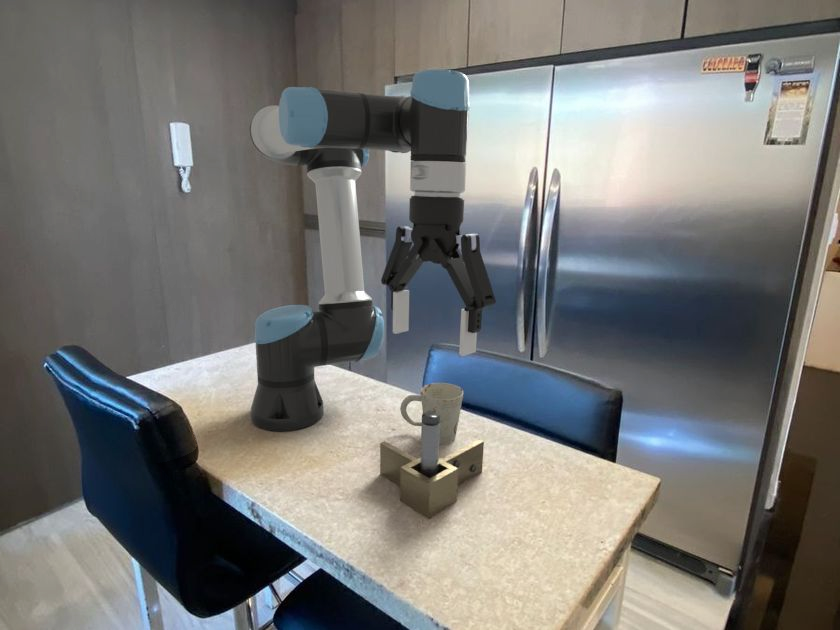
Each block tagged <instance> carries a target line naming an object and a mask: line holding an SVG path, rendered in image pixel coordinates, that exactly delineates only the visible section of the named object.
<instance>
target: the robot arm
mask: <svg viewBox="0 0 840 630" xmlns="http://www.w3.org/2000/svg"><path fill="white" fill-rule="evenodd" d="M469 83H470V82H469V79H468V77H467V75H466V74H464V73H463V72H460V71H457V70H450V69H442V68H441V69H440V68H439V69H436V68H435V69H424V70H420V71H417V72H416V73H415V74H414V75H413V78H412V83H411V84H412V85H411V89H410V91H409V92H410V96H406V97H405V96H402V97H401V96H392V95H384V94H383V95H382V94H371V93H360V92H349V91H348V92H347V91H340V90H330V89H323V88H322V89H321V88H316V87H313V86H303V87H299V86H288V87H286V88H285V89H284V90H283V91H282V92H281V97H280V98H279V103H278V105H268V106H265V107H263V108H261V109H259V110H258V111H257V112H255V113H254V114H253V116H252V117H251V119H250V122H249V125H248V134H249V139H250V142H251V144H252V146H253V148H254V149H255V150H256V152H257V153H259V154H260V155H261V156H263V157H264V158H266V159H269V160H270V161H273V162H275V163H279V164H283V165H288V166H302V167H306V174H307V177H308V178H309V179H310V180H311V181H312V182H313V183H314V185H315V194H316V195H315V196H316V207H317V216H318V217H317V219H318V231H319V239H320V240H319V242H320V252H321V253H320V254H321V263H322V264H321V265H322V276H323V277H322V278H323V288H324V294H323V296H322V298H321V299H320V300H319V302H318V311H314V310H313V309H312V307H311V306H309V305H306V304H289V305H284V306H283V305H282V306H278V307H274V308H272V309H268V310H267V311H265V312H262V313H261V314H260V315H259V316H258V317H257V318H256V320H255V323H254V338H253V340H254V343H255V354H256V355H255V356H256V372H257V373H256V374H257V386H256V389H255V393H254V396H253V400H252V402H251V403H252V404H251V407H250V419H251V422H252V423H253V425H255V427H258V428H260V429H263V430H268V431H271V432H272V431H275V432H287V431H295V430H301V429H305V428H308V427H310V426H313V425H314V424H316V423H318V422H319V421H320V420H321V419H322V418H323V416H324V413H325V412H324V407H325V406H324V401H323V398H322V396H321V393H320V391H319V387H318V385H317V383H316V379H315V368H316V367H324V366H332V365H336V364H345V363H352V362H354V363H359V362H361V361H365V360H370V359H373V358H374V357H376V356H377V355H378V354H379V352H380V350H381V348H382V346H383V342H384V337H385V321H384V317H383V313H382V311H381V308H379V307H378V306H375V305H373V299H372V297H371V296H370V295H368V294H367V293H366V291H365V282H364V270H363V260H362V259H363V258H362V248H361V246H362V245H361V234H360V223H359V222H360V221H359V212H358V211H359V209H358V198H357V186H356V182H357V180H358V179H359V178H360V176H361V175H362V169H363V168H364V167H365V166H366V165H367V164H368V162H369V158H370V154H369V152H370V151H388V152H391V153H396V154H397V153H401V154H407V153H409V152H410V177H409V180H410V182H409V183H410V185H409V189H410V191H411V192H414V193H413V194H414V195H411V196H410V197H409V208H408V209H409V211H408V212H409V215H408V216H409V217H408V220H409V221H410V223H412V224H413V225H406V226H405V225H404V226H403V225H402V226H397V227H396V230H395V240H394V242H393V246H392V248H391V251H390V254H389V257H388V260H387V262H386V266H385V268H384V271H383V274H382V277H381V279H380V280H381V281H380V282H381V284H382V285H384V286H385V285H386V286H388V289H389V290H390V308H391V310H392V334H395V335H397V334H401V333H405V332H406V333H407V332H409V331H410V329H409V327H410V321H409V320H410V290H409V289H408V288H409V286H408V284H409V283H410V282H411V280H412V279H413V278H414V276H415V275H416V273H417V272H418V270H419V269H420V267H421V266H422V265H423V263H424V262H426V263H427V262H431V263H432V264H437V265H441V266H442V268H444V269H446V271H447V273H448V275H449V277H450V278H451V280H452V283H453V285H454V286H455V288H456V290H457V292H458V294H459V296H460V298H461V299H462V301H463V302H464V303H463V304H464V305H465V307H464V308H461V309H460V310H461V312H460V329H459V330H460V331H459V348H458V349H459V351H458V352H459V353H458V354H459V356H461V357H466V356H468V355H471V354H475V353H476V352H477V341H478V340H477V338H478V333H480V332H481V330H482V318H483V309H484V308H487V307H492V306H494V305H496V304H497V303H496V302H497V300H496V297H495V294H494V290H493V288H492V284H491V281H490V278H489V275H488V272H487V269H486V266H485V262H484V259H483V256H482V254H481V247H480V246H481V245H480V241H481V239H480V235H479V234H478V233H468V234H462V233H461V230H460V229H461V228H460V227H461V225H462V224H463V223H464V215H465V213H464V210H465V199H464V198H463V197H462V196H461V193H464V192H466V175H467V174H466V171H467V169H466V167H467V158H466V157H467V149H468V133H469V132H468V131H469V118H470V117H469V113H470V108H471V104H470V102H469V101H470V99H469V97H470V93H469V92H470V86H469V85H470V84H469ZM460 250H461V252H460Z"/></svg>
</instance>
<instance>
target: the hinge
mask: <svg viewBox="0 0 840 630" xmlns="http://www.w3.org/2000/svg"><path fill="white" fill-rule="evenodd" d="M484 443H485V442H484V440H482V439H476V440H474V442H472V443H469V444H467V445H466V446H464V447H462V448H460V449H457V450H456V451H454V452H452V453H451V454H448V455H446V456H445V457H443V458H439V461H438V474H437V475H435V476H433V477H431V478H428V477H426V476H425V475H423V474H421V473H420V465H421V456H420V457H418V458H416V457H414V456H412V455H411V454H409V453H408V452H405V451H404V450H402V449H400V448H398V447H397V446H395V445H393V444H391V443H389V442H387V441H385V440H384V441H381V442H380V443H379V458H380V459H379V475H381V476H382V477H384V478H386V479H387V480H389V482H390V481H391V483H393V484H394V485H395V484H396V485H397V486H399V487H400V488H399V501H400V502H401V503H403V504H404V505H406V506H408V507H409V508H411V509H412V510H413V511H416V512H417V513H418V514H420V515H422V516H423V517H425V518H426V519H427V520H430V519H431V518H433V517H434V516H437V515H438V514H439V513H441V512H442V511H444V510H446V509H448V508H449V507H451V506H452V505H454V504H455V503H457V497H458V496H457V495H458V487H459V486H460V485H462V484H464V483H466V482H467V481H469V480H471V479H472V478H474V477H476V476H477V475H480V473H483V463H484V461H483V460H484V458H483V457H484V448H485V447H484V446H485V445H484Z"/></svg>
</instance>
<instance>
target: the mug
mask: <svg viewBox="0 0 840 630" xmlns="http://www.w3.org/2000/svg"><path fill="white" fill-rule="evenodd" d="M463 398H464V390H463V389H462V388H461V387H460V386H458V385H456V384H453V383H447V382H432V383H429V384H425V385H424V386H422V387H421V389H420V394H409V395H408V396H406V397H405V398H404V399H403V400H402V402H401V404H400V409H399V410H400V413H401V417H402V418H403V419H404V421H406V423H408V424H410V425H412V426H414V427H422V421H415V420H413V419H412V418H411V417H410V415H409V414H408V411H407V408H408V406H409V404H410V403H411V402H421V409H422V410H421V411H422V414H423V413H425V412H436V413H438V414H439V415H440V434H439V445H445V444H446V445H448V444H450V443H453V442H454V441H455V439H456V437H457V431H458V425H459V421H460V414H461V410H462V405H463V404H462V403H463V400H464V399H463Z"/></svg>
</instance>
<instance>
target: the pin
mask: <svg viewBox="0 0 840 630" xmlns="http://www.w3.org/2000/svg"><path fill="white" fill-rule="evenodd" d="M421 422H422V426H421V434H420V436H421V437H420V440H421V441H420V457H421V465H420V473H421V474H423V475H425V476H426V477H428V478H431V477H433V476H435V475H437V474H438V461H439V459H440V458H439V456H440V455H439V454H440V444H439V434H440V415H439V414H438V413H436V412H425V413H423V412H422V413H421Z"/></svg>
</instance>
